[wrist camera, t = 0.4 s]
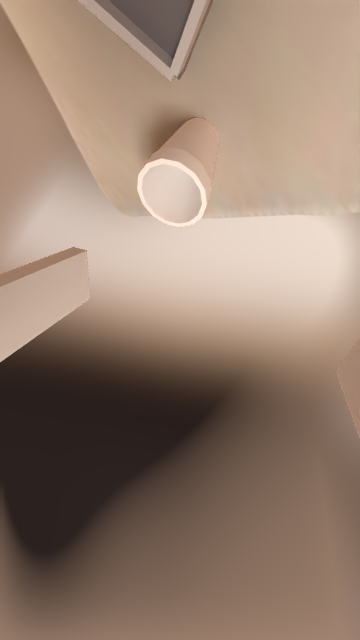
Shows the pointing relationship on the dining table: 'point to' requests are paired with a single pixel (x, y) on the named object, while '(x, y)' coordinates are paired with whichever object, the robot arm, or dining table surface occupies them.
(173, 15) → the shallow rimmed tray
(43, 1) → the dining table surface
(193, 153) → the foam cup
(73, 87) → the dining table surface
